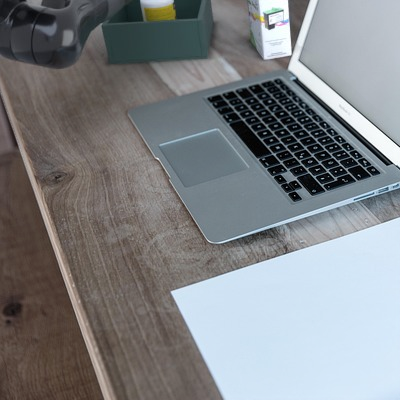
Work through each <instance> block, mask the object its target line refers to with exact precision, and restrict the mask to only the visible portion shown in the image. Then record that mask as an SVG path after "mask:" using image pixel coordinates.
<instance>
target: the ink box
mask: <svg viewBox="0 0 400 400" xmlns="http://www.w3.org/2000/svg"><path fill="white" fill-rule="evenodd" d="M246 3H247V14H248V25H249V36H250V42H251V44H252V45H253V47H254V48H255V49H256V51H257V52H258V54H259V55H260V57H261V58H262V59H263V60H272V59H278V58H284V57H289V56H292V54H293V52H292V40H291V38H292V37H291V28H290V27H291V26H290V12H289V0H246Z"/></svg>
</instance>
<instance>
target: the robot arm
mask: <svg viewBox="0 0 400 400" xmlns="http://www.w3.org/2000/svg"><path fill="white" fill-rule="evenodd" d="M131 1H132V0H41V2H40V5H39V4H34V3H30V2H28V0H0V56H1V57H3V58H4V59H7V60H9V61H12V62H13V61H14V62H18V63H23V64H27V65H32V66H37V67H42V68H47V69H51V70H64V69H67V68H70V67H72V66H74V65H75V64H77V62H78V61H79V60H80V58H81V56H82V54H83V51H84V48H85V45H86V43H87V41H88V39H89V38H90V35H91V34H92V32H93V31H94V30H96V28H97V27H99V26H100V25H102V23H103V22H105V21H107V20H109V19H110V18H111V17H113V16H114V15H115V14H116V13H117V12H119V11H120V10H121V9H122V8H124V7H125V6H126V5H127V4H128V3H130V2H131Z"/></svg>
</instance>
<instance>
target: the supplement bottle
mask: <svg viewBox="0 0 400 400" xmlns="http://www.w3.org/2000/svg"><path fill="white" fill-rule="evenodd" d="M140 4H141V9H142V15H143V20H144V21H161V20H177V18H176V12H175V5H174V0H140Z"/></svg>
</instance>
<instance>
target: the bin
mask: <svg viewBox="0 0 400 400" xmlns="http://www.w3.org/2000/svg"><path fill="white" fill-rule="evenodd" d="M174 5H175V12H176V18H177V20H161V21H144V20H143V15H142V9H141V4H140V0H132V1H131V2H130V3H128V4H127V5H126V6H125V7H124V8H122V9H121V10H120V11H119V12H117V13H116V14H115V15H114V16H113V17H111V18H110V19H109V20H107V21H105V22H103V23H101V24H100V25H101V32H102V35H103V40H104V46H105V49H106V53H107V58H108V62H109V65H119V64H121V65H122V64H137V63H152V62H153V63H155V62H172V61H186V60H187V61H189V60H206V59H208V57H209V51H210V46H211V40H212V36H213V31H214V24H215V22H214V14H213V6H212V0H174Z"/></svg>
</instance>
